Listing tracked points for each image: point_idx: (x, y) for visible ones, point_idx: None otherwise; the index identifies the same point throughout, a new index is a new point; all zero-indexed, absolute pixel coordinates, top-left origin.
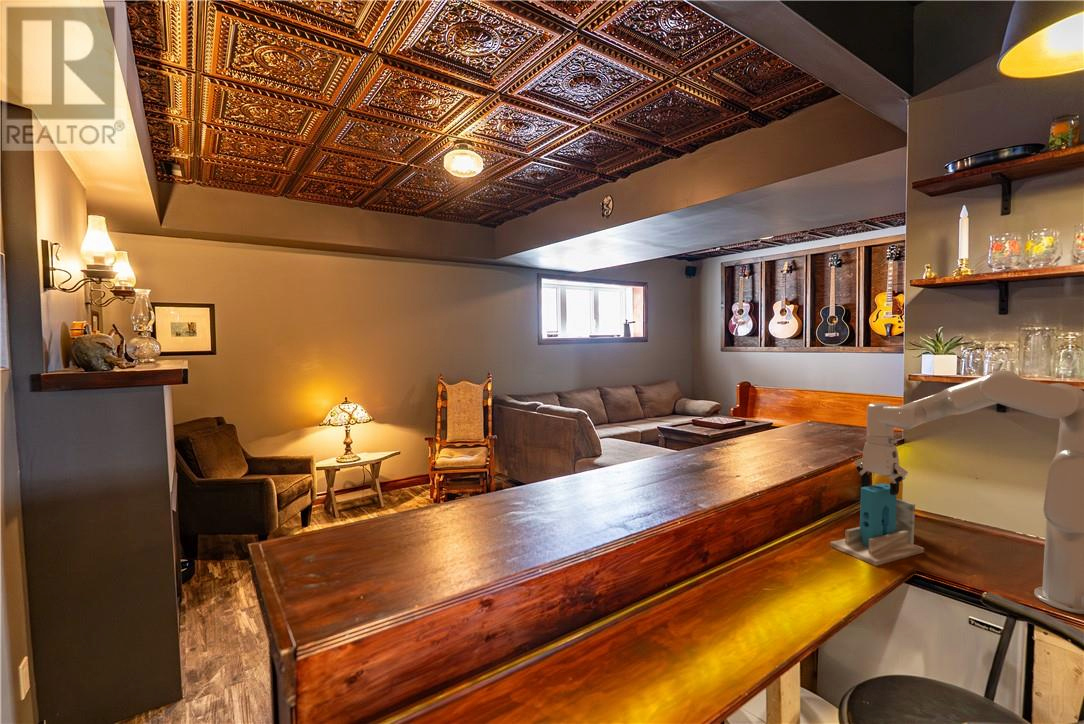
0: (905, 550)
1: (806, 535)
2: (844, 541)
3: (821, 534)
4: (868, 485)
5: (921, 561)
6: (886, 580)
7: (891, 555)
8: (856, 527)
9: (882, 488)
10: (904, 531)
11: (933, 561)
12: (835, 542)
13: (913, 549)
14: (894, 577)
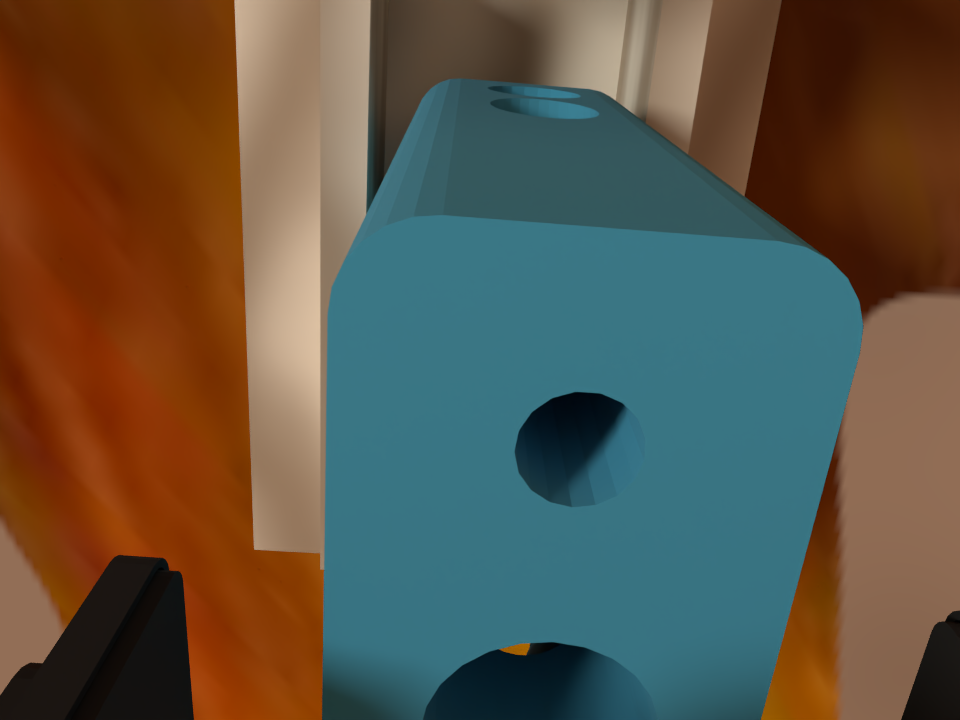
0: (716, 131)
1: (5, 499)
2: (297, 437)
3: (27, 367)
4: (179, 617)
5: (855, 138)
6: (813, 675)
7: None
8: (321, 413)
9: (577, 625)
10: (690, 18)
11: (929, 29)
12: (279, 520)
13: (753, 22)
14: (828, 599)
